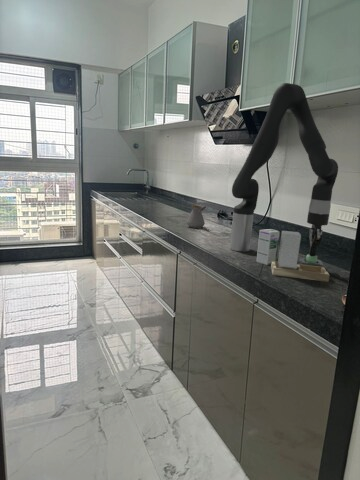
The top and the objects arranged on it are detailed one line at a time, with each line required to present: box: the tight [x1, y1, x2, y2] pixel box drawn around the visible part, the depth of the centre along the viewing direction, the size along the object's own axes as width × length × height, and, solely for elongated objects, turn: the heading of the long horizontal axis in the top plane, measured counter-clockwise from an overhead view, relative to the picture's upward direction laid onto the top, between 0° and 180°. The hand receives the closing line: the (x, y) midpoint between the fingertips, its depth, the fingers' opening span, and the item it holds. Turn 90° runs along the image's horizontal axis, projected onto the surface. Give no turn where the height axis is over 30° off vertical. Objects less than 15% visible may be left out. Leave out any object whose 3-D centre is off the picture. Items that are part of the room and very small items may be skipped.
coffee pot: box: [185, 205, 208, 229], centre depth 212 cm, size 21×12×15 cm, turn 16°
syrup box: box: [255, 228, 281, 266], centre depth 142 cm, size 6×6×14 cm
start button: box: [305, 253, 318, 263], centre depth 139 cm, size 4×4×4 cm
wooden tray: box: [270, 261, 330, 282], centre depth 129 cm, size 10×19×4 cm, turn 79°
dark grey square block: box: [297, 256, 325, 268], centre depth 139 cm, size 8×8×4 cm
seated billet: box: [277, 230, 302, 270], centre depth 129 cm, size 6×6×15 cm
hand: (312, 255), depth 138 cm, fingers closed
